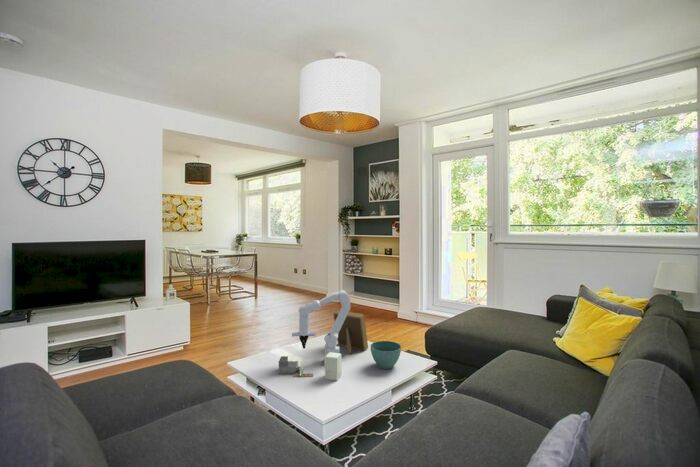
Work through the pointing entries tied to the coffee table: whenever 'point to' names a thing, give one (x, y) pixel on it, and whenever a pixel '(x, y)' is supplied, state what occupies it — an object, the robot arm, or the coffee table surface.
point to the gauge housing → (287, 366)
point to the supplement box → (333, 366)
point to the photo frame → (352, 332)
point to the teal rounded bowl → (385, 353)
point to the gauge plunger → (301, 367)
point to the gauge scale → (303, 375)
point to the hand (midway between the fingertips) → (304, 347)
